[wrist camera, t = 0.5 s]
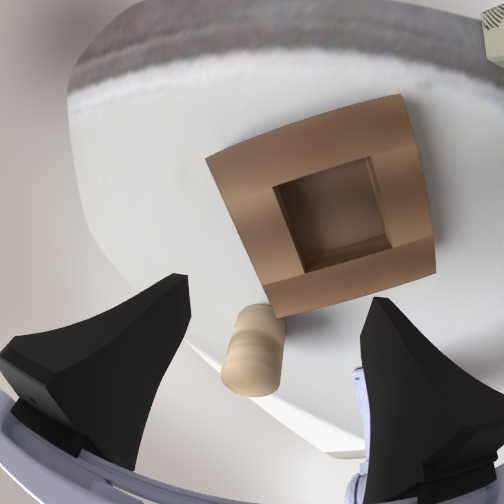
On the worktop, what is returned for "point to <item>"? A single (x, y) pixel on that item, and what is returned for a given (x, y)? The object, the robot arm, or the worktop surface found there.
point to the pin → (255, 352)
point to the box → (494, 34)
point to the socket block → (330, 205)
